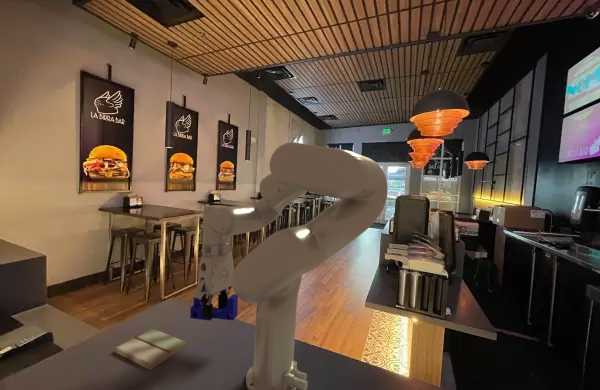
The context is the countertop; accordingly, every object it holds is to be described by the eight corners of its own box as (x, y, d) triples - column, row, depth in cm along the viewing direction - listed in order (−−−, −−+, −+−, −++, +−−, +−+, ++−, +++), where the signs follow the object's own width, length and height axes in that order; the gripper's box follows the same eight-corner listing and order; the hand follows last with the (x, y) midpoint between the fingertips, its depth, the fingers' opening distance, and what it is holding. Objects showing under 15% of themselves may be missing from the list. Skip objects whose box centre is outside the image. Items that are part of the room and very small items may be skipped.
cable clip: (190, 318, 74) (190, 296, 74) (199, 311, 78) (199, 290, 78) (230, 323, 71) (230, 301, 71) (237, 315, 76) (237, 294, 76)
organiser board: (186, 346, 75) (186, 341, 75) (150, 369, 65) (150, 363, 65) (152, 332, 81) (153, 327, 81) (115, 352, 71) (115, 346, 71)
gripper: (203, 257, 65) (202, 330, 65) (245, 245, 81) (244, 304, 81) (182, 253, 68) (180, 323, 68) (226, 243, 84) (225, 299, 84)
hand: (215, 312), depth 75 cm, fingers closed on cable clip, 5 cm apart
